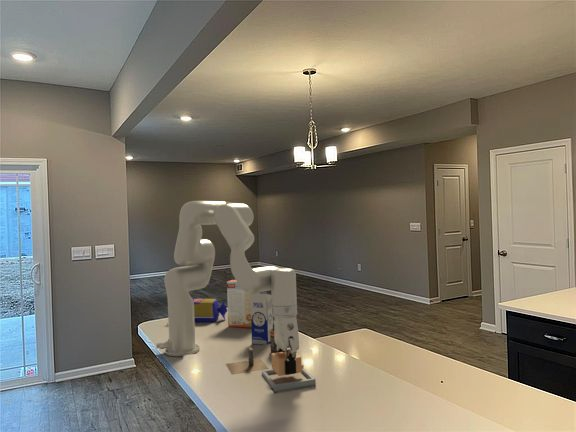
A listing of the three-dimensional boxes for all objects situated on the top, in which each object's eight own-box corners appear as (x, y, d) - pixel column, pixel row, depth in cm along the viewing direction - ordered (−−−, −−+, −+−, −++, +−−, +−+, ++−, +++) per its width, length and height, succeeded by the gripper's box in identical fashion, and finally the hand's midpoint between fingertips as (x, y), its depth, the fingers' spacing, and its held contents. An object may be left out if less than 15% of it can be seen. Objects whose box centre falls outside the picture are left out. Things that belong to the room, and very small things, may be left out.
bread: (181, 317, 210) (180, 297, 210) (228, 317, 207) (228, 297, 207) (173, 323, 200) (172, 301, 200) (223, 323, 197) (222, 301, 197)
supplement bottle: (285, 358, 145) (284, 325, 145) (268, 357, 146) (268, 325, 146) (288, 352, 151) (287, 321, 151) (272, 352, 152) (272, 321, 152)
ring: (279, 376, 119) (278, 360, 119) (271, 368, 126) (271, 353, 126) (306, 371, 122) (306, 356, 122) (298, 364, 129) (297, 349, 129)
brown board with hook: (231, 377, 128) (231, 356, 128) (225, 366, 138) (225, 347, 138) (268, 371, 132) (268, 351, 132) (260, 361, 142) (259, 342, 142)
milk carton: (251, 344, 162) (249, 293, 162) (259, 339, 168) (257, 290, 169) (267, 345, 160) (266, 293, 160) (274, 340, 166) (273, 290, 166)
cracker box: (261, 325, 191) (259, 279, 191) (255, 328, 185) (254, 281, 185) (233, 323, 195) (232, 279, 195) (227, 326, 190) (226, 281, 190)
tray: (274, 393, 116) (274, 386, 116) (262, 377, 128) (261, 370, 128) (315, 385, 120) (315, 379, 120) (300, 371, 132) (299, 364, 132)
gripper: (306, 314, 117) (309, 377, 117) (286, 303, 133) (288, 358, 133) (281, 317, 114) (283, 382, 114) (264, 305, 131) (266, 362, 131)
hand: (286, 369), depth 124 cm, fingers closed on ring, 7 cm apart
